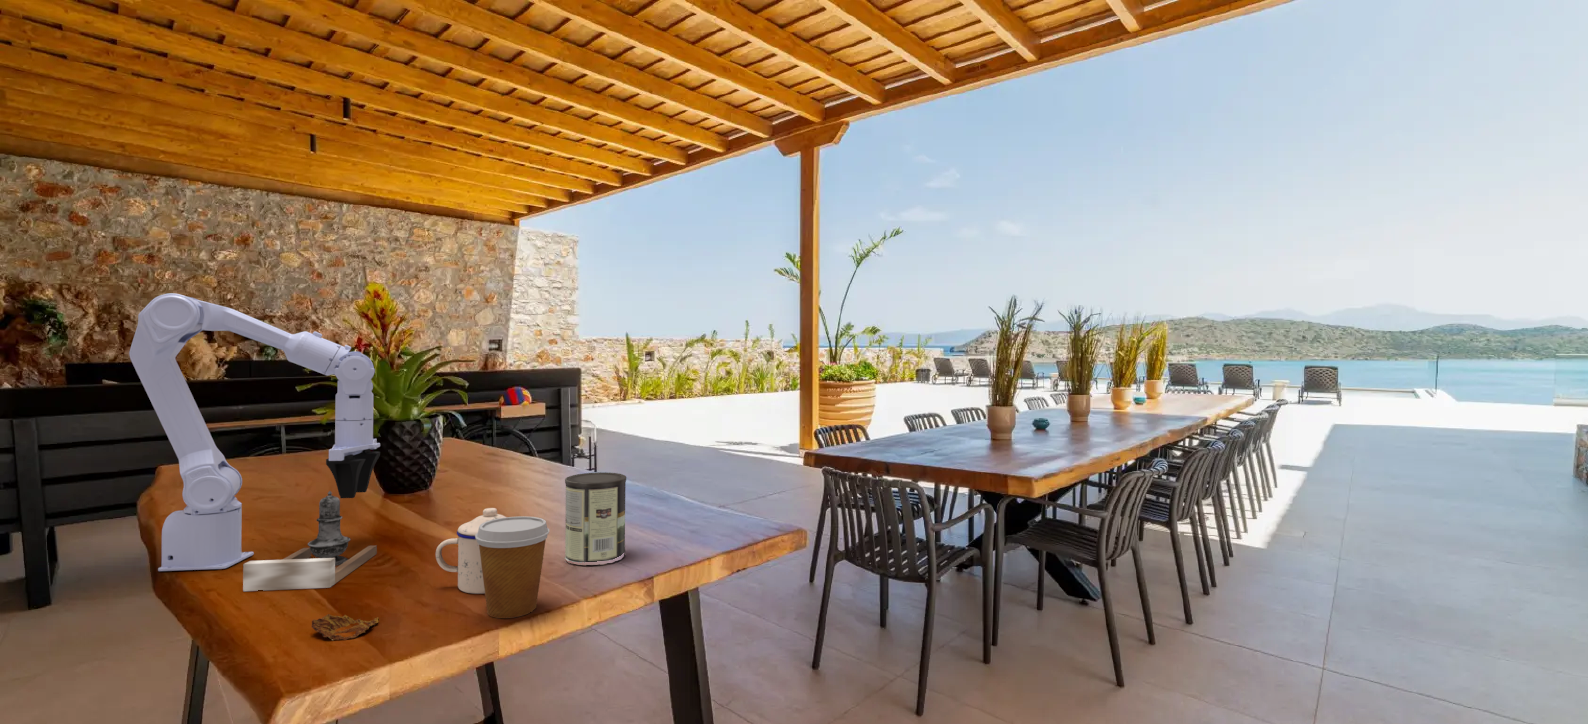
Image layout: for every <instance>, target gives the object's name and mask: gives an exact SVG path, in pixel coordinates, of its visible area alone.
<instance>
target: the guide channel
mask: <svg viewBox="0 0 1588 724" xmlns="http://www.w3.org/2000/svg"><path fill="white" fill-rule="evenodd" d="M377 546H378V545H377V544H376V545H367V546H366V547H365V548H363V549H362V550H360V551H358V552H357V553H356V554H355V555H353V556H352V557H350V558H348V560H347V561H346V562H344V563H343V564H341V565H337V566H335V558H318V557H315V558H314V557H313V558H311V557H312V553H311V551H310V547H303V548H300V549H299V550H296V552H294V553H293V552H292V553H291V554H289V555H287V556H286V557H284V558H283V559H265V560H263V559H262V560H249V561H247V562H244V563H243V564H242V566H243V569H242V573H243V574H242V584H243V585H242V591H243V592H257V591H258V590H263V591H278V590H279V591H282V590H283V591H284V590H305V589H307V590H308V589H326V588H327V589H328V588H332V587H333V586H334V585H335V584H337V583H338V582H340V581H341V580H343V579H345V578H346V577H347V576H348V575H349V574H351V573H352V572H353V571H355V570H356V569H358V568H359V567H361V565H363V564H365V563H367V562H368V561H369V560H370V559H371V558H373V557H375V556H376V555H377V554H378V548H377ZM258 592H259V591H258Z"/></svg>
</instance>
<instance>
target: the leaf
mask: <svg viewBox="0 0 1588 724" xmlns="http://www.w3.org/2000/svg"><path fill="white" fill-rule="evenodd" d="M379 621H380V618H379V617H378V616H377V617H376V618H373V619H372V620H361V618H358V619H356V620H354V618H352V617H350V616H348V615H346V614H344V615H343V616H339V615H332V614H329V613H328V614H326V615H324V616H323V617H321V618H318V619H312V620H311V628H312V629H313V630H314V631H315V632H317V633H318V634H321V635H322V637H323V638H329V639H330V640H331V641H335V640H337V641H339V640H342V641H347V640H349V639H355V638H357V637H358V636H359V635H361V634H363V633H366V631H367V630H369V628H370V627H372V626H375V625H376V624H378V623H379ZM351 624H354V625H353V626H352V627H350V628H346V627H348V626H350V625H351ZM355 624H356V625H355ZM340 628H346V629H343V630H339V629H340ZM353 632H355V633H354V634H352V636H351V635H348V636H343V635H341V634H347V633H353Z"/></svg>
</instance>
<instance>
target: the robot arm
mask: <svg viewBox="0 0 1588 724" xmlns="http://www.w3.org/2000/svg"><path fill="white" fill-rule="evenodd" d="M137 318H138V319H137V326H136V330H135V333H134V335H133V339H132V342H131V346H130V349H129V352H128V355H129V358H130V361H131V363H132V365H133V367H134V369H135V372H136V374H137V376H138V378H139V379H140V383H141V384H142V386H143V388H144V391H145V392H146V394H147V397H148V398H149V400H150V402H151V405H152V407H153V409H154V412H155V413H156V415H157V417H158V419H159V420H158V421H159V422H160V424H161V426H162V428H163V430H164V432H165V434H166V436H167V438H168V441H169V443H170V444H171V446H172V448H173V451H174V453H175V456H176V457H177V459H178V465H179V467H178V468H179V474H180V477H181V479H182V483H183V488H182V492H181V493H182V500H183V502H184V503H185V505H186V506H185V507H184V508H183V510H175V511H173V512H171V513H170V514H169V515H168V516H167V517H165V520H164V523H163V524H162V529H161V566H159V567H158V568H157V571H158V572H172V571H174V572H175V571H193V570H194V571H196V570H197V571H199V570H200V571H201V570H222V569H223V570H224V569H228V568H229V567H231V566H234V565H235V564H237V563H240V562H241V561H243V560H245V559H248V558H249V557H252V556H253V555H254V554H255V553H254V551H242V522H243V521H242V520H243V519H242V511H243V510H242V507H243V505H242V504H243V503H242V502H241V501H239V500H238V498H237V497H236V495H237V494H238V492H239V491H240V490H241V488H242V485H243V478H242V477H243V476H242V475H241V473H240V472H239V470H238V469H237V468H235V467H233V466H232V465H230V463H228V461H227V460H226V457H225V455H224V454H223V453H222V451H220V449H219V448H218V447H217V445H216V443H215V441H214V439H213V437H212V434H211V431H210V430H209V427H208V426H207V423H206V422H205V419H204V417H203V416H202V413H201V411H200V409H199V407H198V404H197V402H196V400H195V399H194V395H193V394H192V392H191V390H190V388H189V385H188V383H187V381H186V379H185V377H184V375H183V373H182V370H181V369H180V366H179V364H178V362H177V359H176V358H177V355H178V354H179V353H180V351H182V349H183V348H184V346H185V345H186V344H187V342H188V341H190V339H192V338H194V337H195V336H196V335H198V334H199V333H201V332H202V331H211V332H218V331H219V332H221V331H222V332H225V331H226V332H231V333H235V334H237V335H240V336H242V337H245V338H248V339H251V340H252V341H253V340H254V341H256V342H259V343H261V344H265V345H268V346H270V347H274V348H276V349H278V350H281V351H283V352H284V356H285V358H286V359H287V361H288V362H289V363H293V364H296V365H298V366H301V367H304V368H306V369H309V370H311V371H314V372H317V373H320V374H322V375H324V376H330V375H335V377H336V378H337V393H336V394H335V401H334V402H335V404H334V405H335V406H334V407H335V409H334V412H335V414H334V415H335V421H334V423H335V424H334V425H335V427H334V428H335V429H334V444H333V445H332V448H330V449H328V458H326V459H325V465H326V466H327V468H328V469H329V470H330V472H331V474H332V476H333V478H334V481H335V483H336V488H337V490H338V491H337V492H338V495H339V497H340V498H339V499H353V498H356V495H357V493H366V492H367V491H368V487H369V484H370V481H371V476H372V473H373V470H374V467H375V465H376V463H377V461H378V460H379V458H381V457H380V456H381V451H377V449H378V448H380V447H381V443H380V442H378V441H377V438H374V393H373V392H372V391H373V388H374V383H373V382H372V379H373V378H374V375H375V371H376V369H375V368H374V363H373V362H372V360H371V359H370V357H369V356H367V355H366V354H364V353H362V352H361V351H351V349H352V346H350V345H348V344H345V345H344V346H343V345H341V344H339V343H336V342H334V341H332V340H329V339H326V338H323V334H322V333H320V332H318V331H313V332H309V331H307V330H305V331H300V332H297V333H290V332H288V331H285V330H283V329H281V328H279V327H276V326H274V325H271V324H269V323H267V322H264V321H262V320H260V319H257V318H254V317H253V316H251V315H248V314H245V313H244V312H240V311H239V310H236V309H234V308H230V307H227V306H223V305H220V304H217V303H216V304H215V303H212V302H211V303H210V302H208V301H203V300H199V299H197V298H195V297H193V296H191V297H190V296H186V295H183V294H179V293H174V292H173V293H172V292H171V293H164V294H160V295H158V296H155V297H154V298H153V299H152V300H150V302H149V303H148V304H146V306H145V307H144V308H143V309H142V310H141V311H139V313H138V316H137ZM371 450H376V451H371Z"/></svg>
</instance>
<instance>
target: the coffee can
mask: <svg viewBox="0 0 1588 724" xmlns="http://www.w3.org/2000/svg"><path fill="white" fill-rule="evenodd" d="M626 481H627V475H625V474H622V473H618V472H607V471H605V472H598V471H597V472H586V473H578V474H577V473H576V474H573V475H570V476H567V477H565V479H564V483H565V533H564V534H565V538H564V539H565V542H564V544H565V546H564V548H565V550H564V551H565V552H564V553H565V554H564V560H565V559H566V560H567V561H572V562H578V563H579V562H580V563H582V562H584V563H585V562H597V561H609V560H613V559H615V558H617V557H619V556H621V555H622V554H623V553H624V552H625V553H626V483H627V482H626Z"/></svg>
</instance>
